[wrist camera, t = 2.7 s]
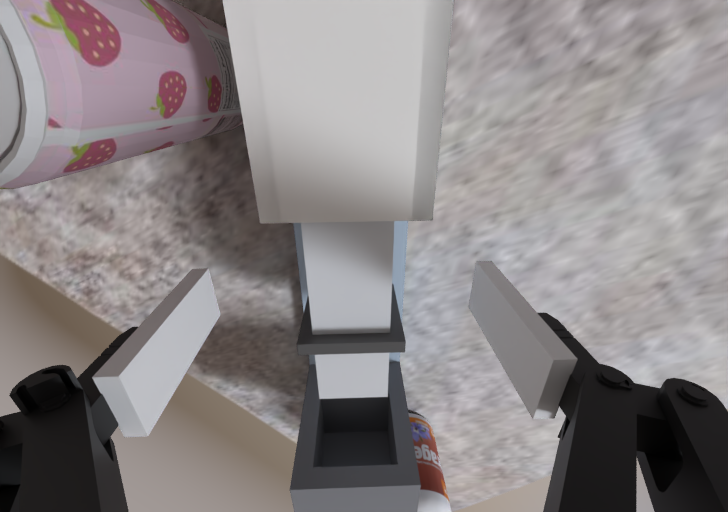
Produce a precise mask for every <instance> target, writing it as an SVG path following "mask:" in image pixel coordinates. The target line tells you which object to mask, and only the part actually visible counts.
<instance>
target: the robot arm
mask: <svg viewBox="0 0 728 512" xmlns="http://www.w3.org/2000/svg"><path fill="white" fill-rule="evenodd" d="M469 309H470V310H471V312H472V314H473V316H474V317H475V319H476V321H477V323H478V324H479V326H480V328H481V330H482V331H483V333H484V335H485V337H486V338H487V340H488V342H489V344H490V345H491V347H492V349H493V351H494V352H495V354H496V356H497V357H498V359H499V361H500V363H501V364H502V366H503V368H504V370H505V371H506V373H507V375H508V377H509V378H510V380H511V382H512V384H513V385H514V387H515V389H516V391H517V392H518V394H519V396H520V397H521V399H522V401H523V403H524V404H525V406H526V408H527V410H528V411H529V413H530V415H531V417H532V418H533V419H548V418H555V416H556V413H557V411H558V408H559V406H560V408H561V409H562V411H563V412H564V414H565V415H566V418H565V421H564V423H563V426H562V428H561V430H560V433H559V435H558V438H560V441H559V445H558V450H557V454H556V458H555V463H554V467H553V472H552V476H551V481H550V485H549V489H548V494H547V498H546V502H545V506H544V511H543V512H636V458H638V461H639V465H640V468H641V471H642V474H643V477H644V480H645V483H646V486H647V489H648V493H649V495H650V499H651V502H652V505H653V508H654V511H655V512H728V411H727V410H726V408H725V407H724V405H723V404H722V403H721V401H720V400H719V399H718V398H717V397H716V396H715V395H713V394H712V393H711V392H709V391H708V390H707V389H705V388H703V387H701V386H699V385H697V384H695V383H692V382H689V381H687V380H684V379H677V378H671V379H667V380H666V381H665V382H664V383H663V385H662V387H661V388H655V387H650V386H645V385H640V384H635V383H634V382H633V381H632V380H631V379H630V378H629V377H628V376H627V375H625V374H624V373H623V372H621V371H619V370H617V369H615V368H613V367H610V366H607V365H603V364H599V363H598V362H597V361H596V360H595V359H594V358H593V357H592V356H591V355H590V353H589V352H588V351H587V350H586V349H585V348H584V347H583V346H582V345H581V344H580V343H579V342H578V341H577V340H576V339H575V338H573V335H572V334H571V333H570V332H569V331H567V329H566V328H565V327H564V326H563V325H562V324H561V323H560V322H559V321H558V320H557V319H555V318H554V317H552V316H550V315H549V314H547V313H537V312H536V311H535V310H534V309H533V308H532V307H531V305H530V304H529V303H528V302H527V301H526V300H525V299H524V297H523V296H522V295H521V294H520V293H519V292H518V291H517V290H516V288H515V287H514V286H513V285H512V284H511V283H510V282H509V280H508V279H507V278H506V277H505V276H504V275H503V274H502V272H501V271H500V270H499V269H498V268H497V267H496V266H495V265H494V263H493V262H492V261H476V265H475V271H474V277H473V283H472V289H471V295H470V301H469ZM219 316H220V311H219V307H218V303H217V299H216V295H215V292H214V288H213V284H212V280H211V276H210V272H209V268H208V269H192V270H191V271H190V272H189V273H188V274H187V275H186V276H185V277H184V279H183V280H182V281H181V282H180V283H179V284H178V285H177V286H176V287H175V288H174V289H173V290H172V292H171V293H170V294H169V295H168V296H167V297H166V298H165V299H164V300H163V301H162V302H161V303H160V304H159V306H158V307H157V308H156V309H155V310H154V311H153V312H152V313H151V314H150V315H149V316H148V317H147V319H146V320H145V321H144V322H143V323H142V324H141V325H140V326H139V327H132V328H130V329H129V330H127V331H125V332H124V333H122V334H121V335H119V336H118V337H117V338H116V339H115V340H114V341H113V343H111V345H109V348H107V349H105V350H104V351H103V353H102V354H101V356H99V357H98V358H97V359H96V360H95V361H94V362H93V363H92V364H91V365H90V366H89V367H88V368H87V369H86V370H85V371H84V372H83V373H82V374H81V375H80V376H79V377H78V378H76V376H75V375H74V373H73V371H72V370H71V368H70V367H69V366H66V365H57V366H51V367H48V368H45V369H42V370H40V371H37V372H35V373H33V374H31V375H29V376H28V377H26V378H25V379H23V380H22V381H20V382H19V383H18V384H17V385H16V386H15V387H14V388H13V389H12V391H11V393H10V397H11V398H12V400H13V401H14V402H15V404H16V405H17V407H18V408H19V409H20V410H21V412H17V413H13V414H9V415H5V416H2V417H0V512H128V507H127V502H126V498H125V493H124V488H123V484H122V479H121V474H120V469H119V465H118V460H117V455H116V451H115V446H114V443H113V441H112V439H111V437H110V436H111V435H112V434H113V432H114V431H115V429H116V428H117V427H118V426H119V428H120V430H121V432H122V433H123V435H124V437H142V436H148V435H149V433H150V432H151V430H152V429H153V427H154V425H155V424H156V422H157V420H158V419H159V417H160V415H161V413H162V412H163V410H164V409H165V407H166V405H167V403H168V402H169V400H170V398H171V397H172V395H173V393H174V392H175V390H176V388H177V387H178V385H179V383H180V382H181V380H182V378H183V377H184V375H185V373H186V372H187V370H188V368H189V367H190V365H191V363H192V362H193V360H194V358H195V357H196V355H197V353H198V352H199V350H200V348H201V347H202V345H203V343H204V342H205V340H206V338H207V337H208V335H209V333H210V332H211V330H212V328H213V327H214V325H215V323H216V321H217V320H218V318H219Z"/></svg>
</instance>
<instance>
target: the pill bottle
mask: <svg viewBox="0 0 728 512" xmlns="http://www.w3.org/2000/svg"><path fill="white" fill-rule="evenodd" d="M408 414H409V419H410V425H411V431H412V437H413V443H414V448H415V454H416V460H417V466H418V471H419V477H420V483H421V488H420V495H419V503H418V510H417V512H451V508H450V503H449V499H448V494H447V490H446V486H445V482H444V477H443V473H442V469H441V464H440V460H439V456H438V451H437V447H436V442H435V438H434V434H433V430H432V427H431V425H430V423H429V422H428V421H427V420H426V419H425V418H423V417H422V416H420V415H417V414H413V413H408Z"/></svg>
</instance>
